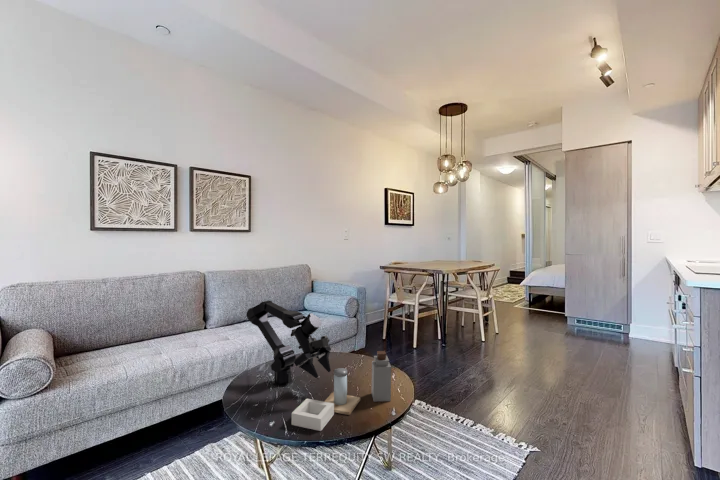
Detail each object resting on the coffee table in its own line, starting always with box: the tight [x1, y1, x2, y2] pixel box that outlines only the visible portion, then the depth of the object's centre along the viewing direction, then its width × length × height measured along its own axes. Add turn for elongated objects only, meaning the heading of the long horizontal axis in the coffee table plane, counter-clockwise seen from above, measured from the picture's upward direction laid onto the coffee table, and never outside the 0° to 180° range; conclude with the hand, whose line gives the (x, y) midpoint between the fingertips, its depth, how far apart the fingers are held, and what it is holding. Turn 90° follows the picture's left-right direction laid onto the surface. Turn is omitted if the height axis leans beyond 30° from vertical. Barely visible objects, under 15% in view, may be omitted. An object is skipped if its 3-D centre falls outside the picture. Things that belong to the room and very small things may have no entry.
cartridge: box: [333, 367, 348, 405], centre depth 131 cm, size 5×5×12 cm
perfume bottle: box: [371, 350, 392, 403], centre depth 137 cm, size 7×7×18 cm
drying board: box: [323, 391, 361, 416], centre depth 131 cm, size 12×12×1 cm
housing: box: [291, 398, 335, 432], centre depth 120 cm, size 11×11×4 cm
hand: (323, 374), depth 135 cm, fingers open, 9 cm apart
